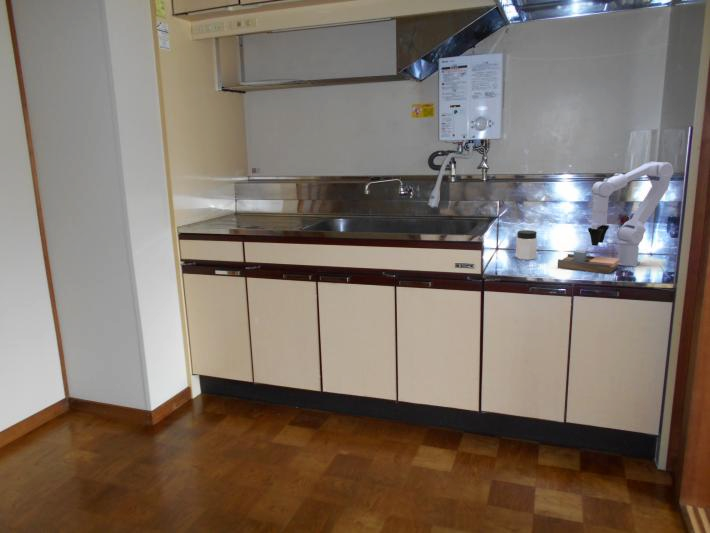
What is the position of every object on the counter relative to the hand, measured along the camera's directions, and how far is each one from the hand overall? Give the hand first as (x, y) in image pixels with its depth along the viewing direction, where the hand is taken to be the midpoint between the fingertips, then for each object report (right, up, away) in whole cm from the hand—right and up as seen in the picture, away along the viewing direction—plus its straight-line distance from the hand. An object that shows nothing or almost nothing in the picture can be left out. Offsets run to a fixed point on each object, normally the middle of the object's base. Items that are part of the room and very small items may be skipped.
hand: (597, 243), depth 229 cm
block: (-7, -9, +1) cm, 11 cm away
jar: (-24, -6, +20) cm, 31 cm away
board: (-4, -10, 0) cm, 11 cm away
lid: (+1, -8, -5) cm, 10 cm away
